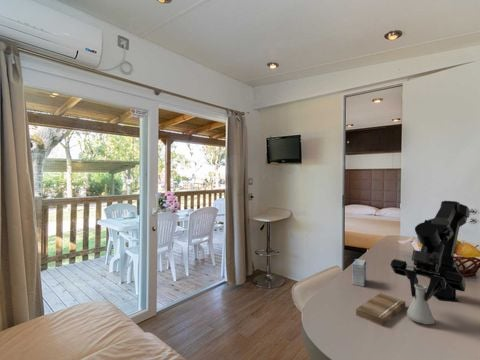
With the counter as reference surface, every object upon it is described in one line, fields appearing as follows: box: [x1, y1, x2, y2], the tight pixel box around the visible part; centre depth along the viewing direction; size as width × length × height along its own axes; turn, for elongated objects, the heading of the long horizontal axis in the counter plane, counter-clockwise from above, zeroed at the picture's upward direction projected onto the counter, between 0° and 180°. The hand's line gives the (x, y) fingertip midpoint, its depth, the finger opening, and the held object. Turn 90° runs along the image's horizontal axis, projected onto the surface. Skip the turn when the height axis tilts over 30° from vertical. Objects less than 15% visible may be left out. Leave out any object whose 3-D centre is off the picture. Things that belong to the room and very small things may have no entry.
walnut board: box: [355, 292, 406, 327], centre depth 84 cm, size 18×8×2 cm, turn 129°
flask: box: [406, 283, 436, 325], centre depth 79 cm, size 7×7×10 cm
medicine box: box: [351, 258, 367, 288], centre depth 107 cm, size 8×4×9 cm, turn 148°
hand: (419, 298), depth 78 cm, fingers closed on flask, 3 cm apart
